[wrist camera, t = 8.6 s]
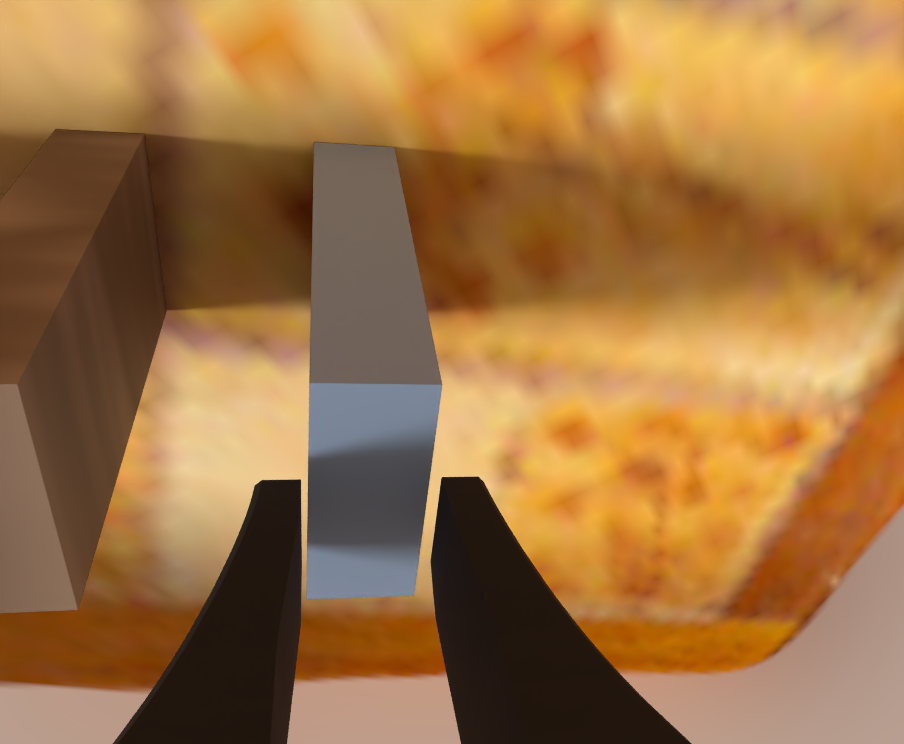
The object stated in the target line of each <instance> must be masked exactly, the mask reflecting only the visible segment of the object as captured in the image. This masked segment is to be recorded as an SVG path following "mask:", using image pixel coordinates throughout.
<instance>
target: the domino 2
mask: <svg viewBox="0 0 904 744" xmlns="http://www.w3.org/2000/svg"><path fill="white" fill-rule="evenodd" d="M441 390H442V381H441V376H440V371H439V366H438V361H437V356H436V351H435V347H434V342H433V337H432V332H431V327H430V322H429V317H428V312H427V307H426V302H425V297H424V292H423V287H422V282H421V277H420V272H419V267H418V262H417V257H416V252H415V247H414V243H413V238H412V233H411V228H410V223H409V218H408V213H407V208H406V203H405V198H404V193H403V188H402V183H401V178H400V173H399V168H398V163H397V158H396V153H395V148H394V147H384V146H368V145H353V144H337V143H322V142H314V173H313V225H312V276H311V327H310V378H309V451H308V526H307V599H332V598H362V597H391V596H414V591H415V584H416V576H417V569H418V562H419V554H420V547H421V539H422V532H423V524H424V517H425V509H426V502H427V495H428V487H429V480H430V472H431V465H432V457H433V450H434V442H435V435H436V428H437V420H438V413H439V405H440V398H441Z"/></svg>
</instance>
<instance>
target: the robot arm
mask: <svg viewBox="0 0 904 744" xmlns="http://www.w3.org/2000/svg"><path fill="white" fill-rule="evenodd" d="M431 571H432V583H433V594H434V605H435V615H436V622H437V627H438V633H439V638H440V643H441V648H442V653H443V658H444V662H445V667H446V672H447V677H448V682H449V687H450V692H451V696H452V701H453V706H454V711H455V716H456V721H457V725H458V731H459V735H460V740H461V744H691V743H690V742H689V741H688V740H687V739H686V738H685V737H684V736H683V735H682V734H681V733H680V732H679V731H678V730H676V729H675V728H674V727H673V726H672V725H671V724H670V723H669V722H668V721H667V720H666V719H665V718H664V717H663V716H662V715H660V714H659V713H658V712H657V711H656V710H655V709H654V708H653V707H652V706H651V705H650V704H649V703H648V702H647V701H646V700H645V699H644V698H643V697H641V695H639V693H638V692H637V691H636V690H635V689H634V688H633V687H632V686H631V685H630V684H629V683H628V682H627V681H626V680H625V679H624V678H623V677H622V676H621V675H620V673H619V672H618V671H617V670H616V669H615V668H614V667H613V666H612V665H611V664H610V662H609V661H608V660H607V659H606V658H605V657H604V656H603V655H602V653H601V652H600V651H599V650H598V649H597V648H596V647H595V646H594V644H593V643H592V642H591V641H590V640H589V638H588V637H587V636H586V635H585V634H584V632H583V631H582V630H581V629H580V627H579V626H578V625H577V624H576V622H575V621H574V620H573V619H572V617H571V616H570V615H569V613H568V612H567V611H566V610H565V608H564V607H563V606H562V604H561V603H560V602H559V600H558V599H557V598H556V596H555V595H554V594H553V592H552V591H551V590H550V588H549V587H548V585H547V584H546V583H545V581H544V580H543V578H542V577H541V575H540V574H539V572H538V571H537V570H536V568H535V567H534V565H533V564H532V562H531V561H530V559H529V558H528V556H527V555H526V553H525V552H524V550H523V549H522V547H521V546H520V544H519V543H518V541H517V539H516V538H515V536H514V535H513V533H512V531H511V530H510V528H509V526H508V525H507V523H506V522H505V520H504V518H503V516H502V515H501V513H500V511H499V510H498V508H497V506H496V504H495V502H494V501H493V499H492V497H491V495H490V493H489V491H488V489H487V488H486V486H485V484H484V482H483V481H482V480H481V479H480V478H479V477H442V479H441V486H440V494H439V502H438V509H437V517H436V524H435V532H434V540H433V547H432V555H431ZM301 575H302V548H301V480H262V481H260V482H259V483H258V484H256V485H255V487H254V491H253V495H252V499H251V502H250V505H249V508H248V511H247V514H246V517H245V520H244V522H243V525H242V527H241V530H240V532H239V535H238V537H237V539H236V542H235V544H234V546H233V549H232V551H231V553H230V555H229V557H228V559H227V561H226V563H225V565H224V567H223V570H222V572H221V574H220V576H219V578H218V580H217V582H216V584H215V586H214V588H213V590H212V592H211V594H210V596H209V597H208V599H207V601H206V603H205V605H204V606H203V608H202V610H201V612H200V613H199V615H198V617H197V619H196V620H195V622H194V624H193V626H192V628H191V629H190V631H189V633H188V635H187V636H186V638H185V640H184V641H183V643H182V645H181V646H180V648H179V649H178V651H177V653H176V654H175V656H174V658H173V659H172V661H171V662H170V664H169V665H168V667H167V668H166V670H165V671H164V673H163V674H162V676H161V677H160V679H159V680H158V682H157V683H156V685H155V686H154V688H153V689H152V691H151V692H150V694H149V695H148V697H147V698H146V699H145V701H144V702H143V704H142V705H141V706H140V708H139V709H138V710H137V712H136V713H135V715H134V716H133V717H132V719H131V720H130V721H129V723H128V724H127V725H126V727H125V728H124V730H123V731H122V732H121V734H120V735H119V736H118V738H117V739H116V740H115V742H114V743H113V744H287V738H288V729H289V721H290V712H291V704H292V695H293V687H294V678H295V669H296V661H297V652H298V644H299V635H300V626H301Z"/></svg>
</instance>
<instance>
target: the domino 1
mask: <svg viewBox="0 0 904 744" xmlns="http://www.w3.org/2000/svg"><path fill="white" fill-rule="evenodd" d="M165 314H166V303H165V295H164V287H163V279H162V271H161V263H160V255H159V247H158V239H157V231H156V223H155V215H154V207H153V199H152V190H151V182H150V174H149V166H148V158H147V150H146V142H145V134H137V133H118V132H99V131H81V130H62V129H55V131H54V132H53V133H52V135H51V136H50V137H49V138H48V140H47V141H46V142H45V144H44V145H43V146H42V147H41V149H40V150H39V151H38V153H37V154H36V155H35V157H34V158H33V159H32V160H31V162H30V163H29V164H28V166H27V167H26V168H25V169H24V171H23V172H22V173H21V175H20V176H19V177H18V179H17V180H16V181H15V182H14V184H13V185H12V186H11V188H10V189H9V190H8V192H7V193H6V194H5V195H4V197H3V198H2V199H1V201H0V613H16V612H41V611H65V610H78V608H79V605H80V601H81V598H82V595H83V591H84V588H85V585H86V581H87V578H88V574H89V571H90V568H91V564H92V561H93V558H94V554H95V551H96V547H97V544H98V541H99V537H100V534H101V531H102V527H103V524H104V520H105V517H106V514H107V510H108V507H109V503H110V500H111V497H112V493H113V490H114V487H115V483H116V480H117V476H118V473H119V470H120V466H121V463H122V460H123V456H124V453H125V449H126V446H127V443H128V439H129V436H130V433H131V429H132V426H133V422H134V419H135V416H136V412H137V409H138V405H139V402H140V399H141V395H142V392H143V389H144V385H145V382H146V378H147V375H148V372H149V368H150V365H151V362H152V358H153V355H154V351H155V348H156V345H157V341H158V338H159V335H160V331H161V328H162V324H163V321H164V318H165Z"/></svg>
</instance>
